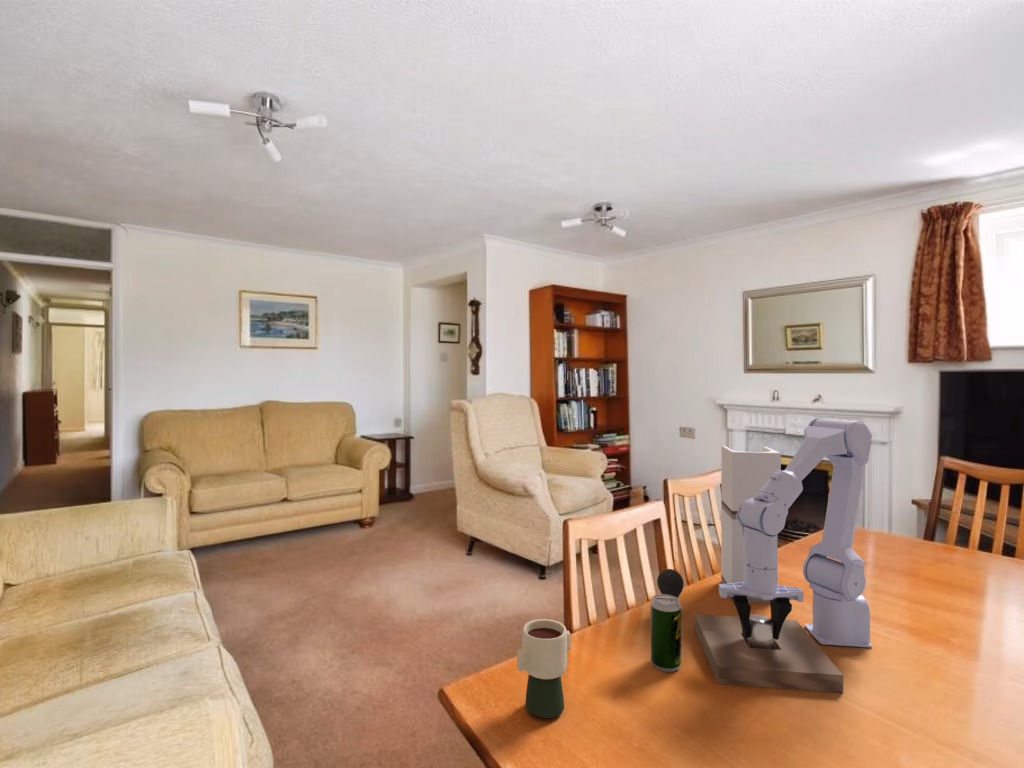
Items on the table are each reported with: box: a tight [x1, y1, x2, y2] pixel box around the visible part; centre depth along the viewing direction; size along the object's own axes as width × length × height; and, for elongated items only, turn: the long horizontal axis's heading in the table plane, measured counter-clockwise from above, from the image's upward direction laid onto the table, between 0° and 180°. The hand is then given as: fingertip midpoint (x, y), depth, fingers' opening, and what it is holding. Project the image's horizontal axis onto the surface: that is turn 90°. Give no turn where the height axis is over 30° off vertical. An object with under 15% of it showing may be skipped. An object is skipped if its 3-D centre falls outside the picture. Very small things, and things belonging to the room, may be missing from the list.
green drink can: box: [650, 593, 682, 673], centre depth 97 cm, size 5×5×12 cm
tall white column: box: [720, 445, 782, 604], centre depth 129 cm, size 11×11×35 cm
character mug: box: [516, 618, 571, 719], centre depth 84 cm, size 11×7×13 cm, turn 127°
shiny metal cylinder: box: [747, 614, 774, 649], centre depth 99 cm, size 4×4×7 cm
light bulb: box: [656, 568, 685, 599], centre depth 117 cm, size 6×6×10 cm
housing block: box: [693, 613, 844, 694], centre depth 99 cm, size 20×20×3 cm
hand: (760, 636), depth 99 cm, fingers closed on shiny metal cylinder, 4 cm apart
